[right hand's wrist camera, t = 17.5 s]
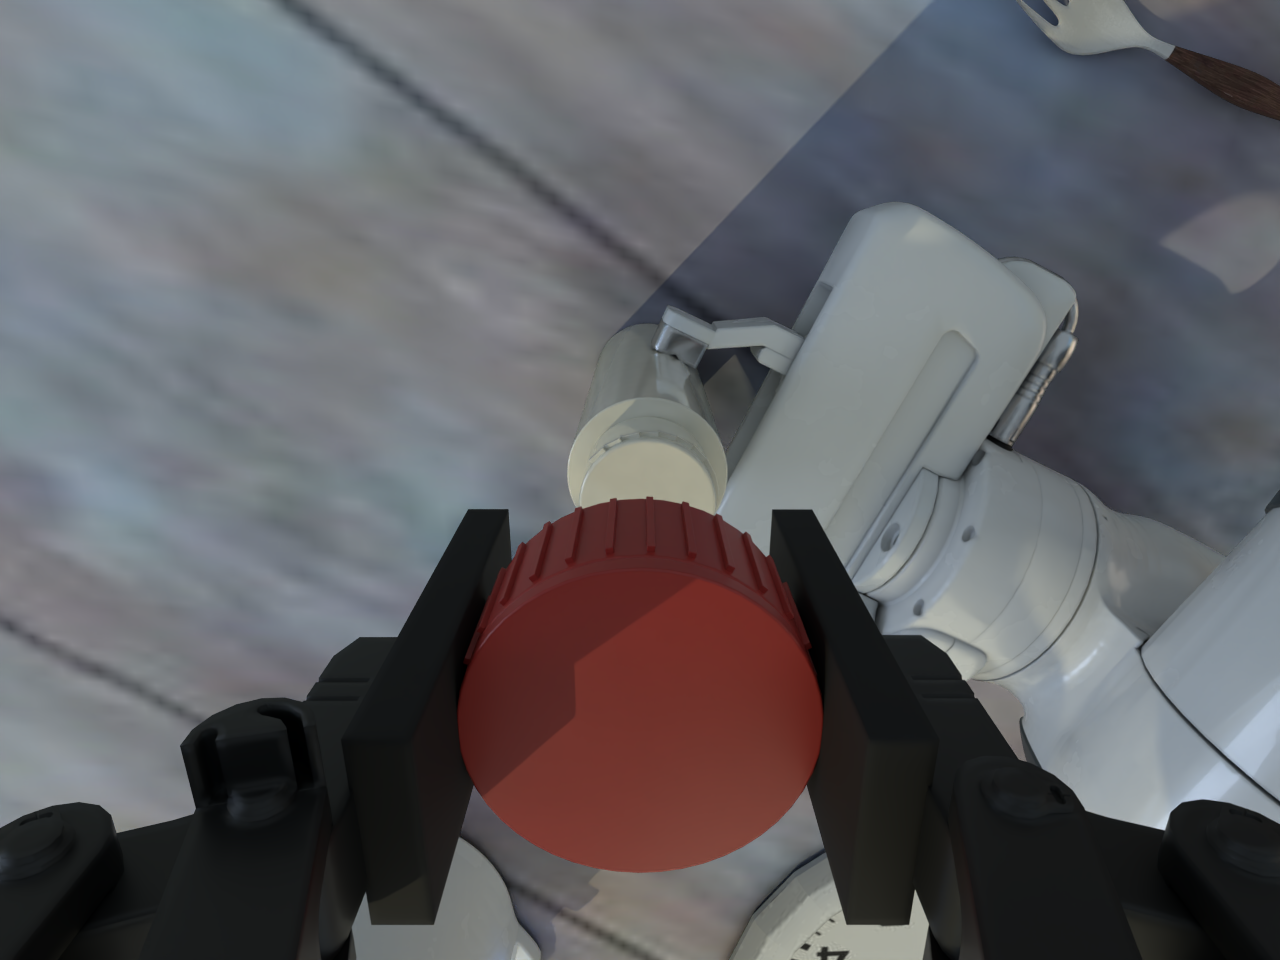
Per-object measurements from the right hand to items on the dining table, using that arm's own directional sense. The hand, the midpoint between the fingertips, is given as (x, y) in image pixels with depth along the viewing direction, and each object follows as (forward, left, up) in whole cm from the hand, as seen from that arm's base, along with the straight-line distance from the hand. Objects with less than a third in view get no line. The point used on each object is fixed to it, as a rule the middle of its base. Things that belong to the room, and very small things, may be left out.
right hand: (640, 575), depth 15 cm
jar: (0, 0, -20) cm, 20 cm away
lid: (0, 0, +4) cm, 4 cm away
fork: (-15, +19, -20) cm, 31 cm away
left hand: (0, -1, -14) cm, 14 cm away
